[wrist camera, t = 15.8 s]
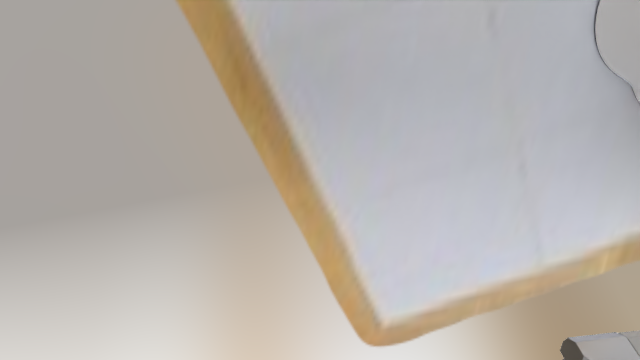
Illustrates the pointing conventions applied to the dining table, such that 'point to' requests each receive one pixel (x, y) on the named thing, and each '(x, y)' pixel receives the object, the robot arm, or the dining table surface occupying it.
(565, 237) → the dining table surface
